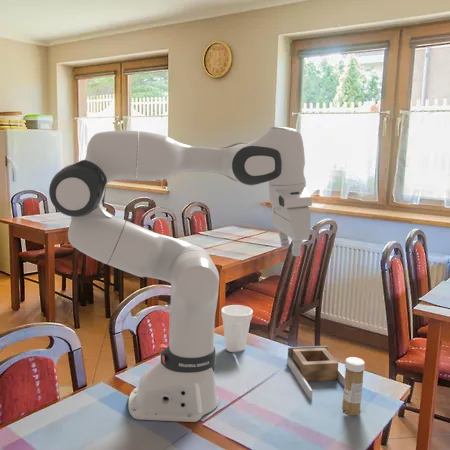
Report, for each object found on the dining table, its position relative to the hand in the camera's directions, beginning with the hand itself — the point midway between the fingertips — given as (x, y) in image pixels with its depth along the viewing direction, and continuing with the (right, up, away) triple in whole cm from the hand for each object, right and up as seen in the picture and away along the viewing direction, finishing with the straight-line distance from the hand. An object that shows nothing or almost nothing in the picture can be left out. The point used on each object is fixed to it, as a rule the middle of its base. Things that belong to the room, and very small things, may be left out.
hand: (290, 250), depth 119 cm
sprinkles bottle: (+15, -40, +1) cm, 43 cm away
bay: (+10, -37, +15) cm, 41 cm away
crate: (+9, -36, +18) cm, 41 cm away
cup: (-13, -33, +34) cm, 49 cm away
